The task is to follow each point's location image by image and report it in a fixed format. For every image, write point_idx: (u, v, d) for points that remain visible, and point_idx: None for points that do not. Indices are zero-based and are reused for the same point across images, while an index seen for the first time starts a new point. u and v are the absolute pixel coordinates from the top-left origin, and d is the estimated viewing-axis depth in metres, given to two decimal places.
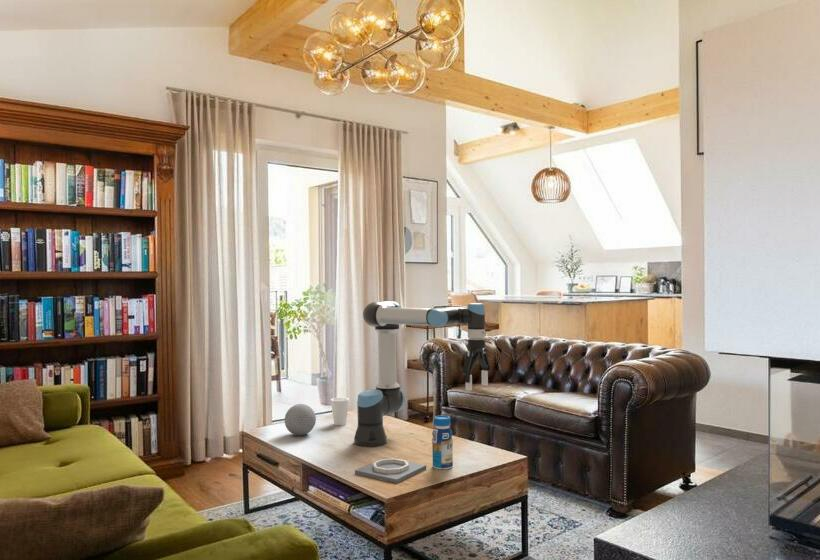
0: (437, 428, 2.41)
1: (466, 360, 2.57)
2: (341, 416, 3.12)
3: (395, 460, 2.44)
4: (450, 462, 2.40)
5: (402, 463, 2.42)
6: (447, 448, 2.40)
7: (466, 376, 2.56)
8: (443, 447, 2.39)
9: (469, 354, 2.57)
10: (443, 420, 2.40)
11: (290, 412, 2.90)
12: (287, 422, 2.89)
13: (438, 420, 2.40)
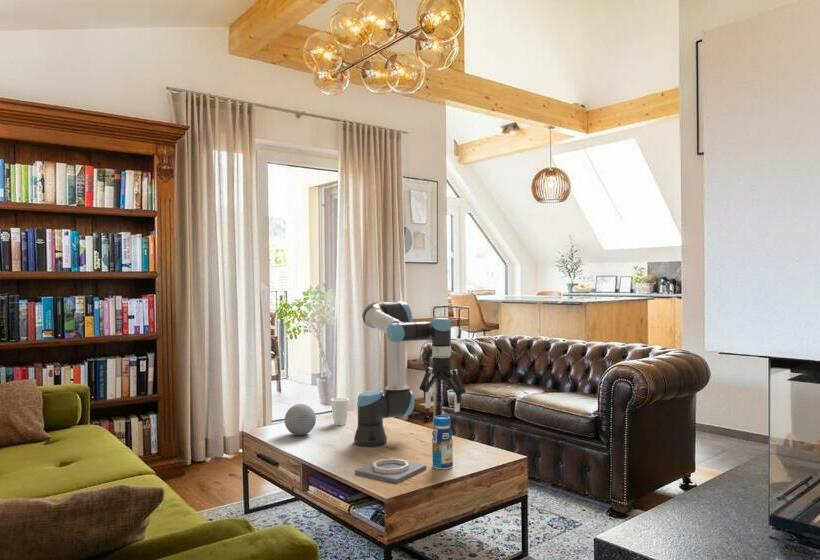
0: (437, 428, 2.41)
1: None
2: (341, 416, 3.12)
3: (395, 460, 2.44)
4: (450, 462, 2.40)
5: (402, 463, 2.42)
6: (447, 448, 2.40)
7: None
8: (443, 447, 2.39)
9: None
10: (443, 420, 2.40)
11: (290, 412, 2.90)
12: (287, 422, 2.89)
13: (438, 420, 2.40)
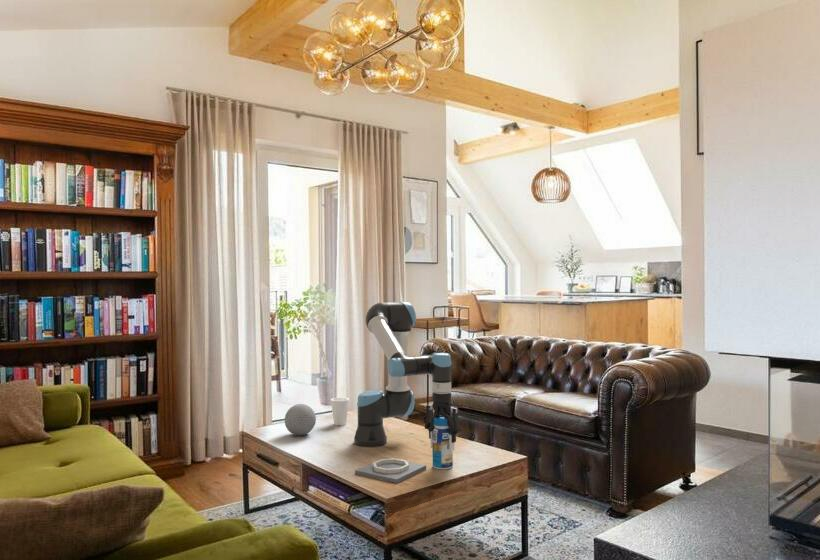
0: (437, 428, 2.41)
1: None
2: (341, 416, 3.12)
3: (395, 460, 2.44)
4: (450, 462, 2.40)
5: (402, 463, 2.42)
6: (447, 448, 2.40)
7: None
8: (443, 447, 2.39)
9: None
10: (443, 420, 2.40)
11: (290, 412, 2.90)
12: (287, 422, 2.89)
13: (438, 420, 2.40)
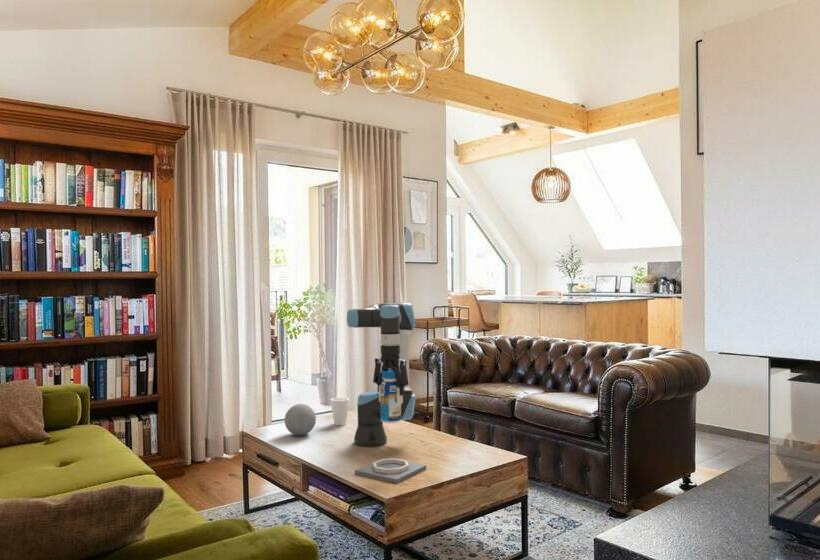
0: (385, 381, 2.35)
1: None
2: (341, 416, 3.12)
3: (395, 460, 2.44)
4: (398, 415, 2.35)
5: (402, 463, 2.42)
6: (395, 401, 2.34)
7: None
8: (390, 400, 2.34)
9: None
10: (391, 372, 2.34)
11: (290, 412, 2.90)
12: (287, 422, 2.89)
13: (386, 373, 2.35)
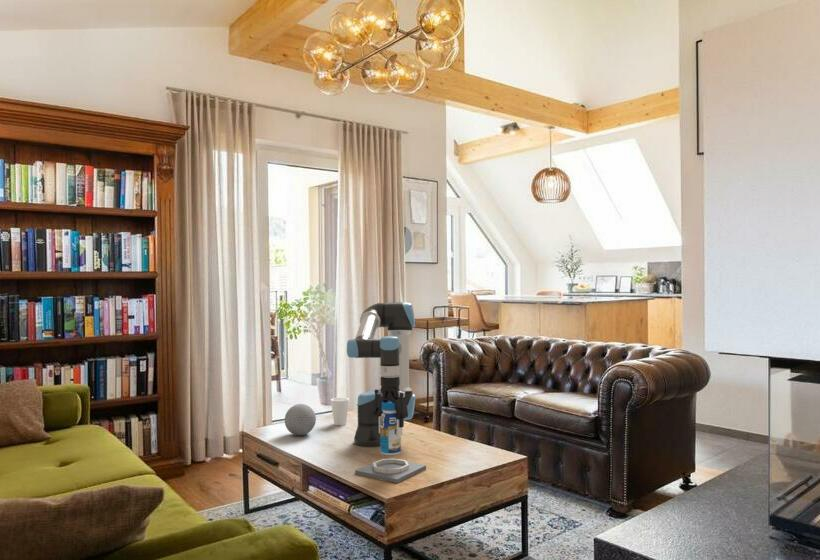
0: (384, 413, 2.35)
1: None
2: (341, 416, 3.12)
3: (395, 460, 2.44)
4: (398, 447, 2.35)
5: (402, 463, 2.42)
6: (394, 433, 2.34)
7: None
8: (390, 432, 2.34)
9: None
10: (390, 404, 2.34)
11: (290, 412, 2.90)
12: (287, 422, 2.89)
13: (385, 404, 2.35)
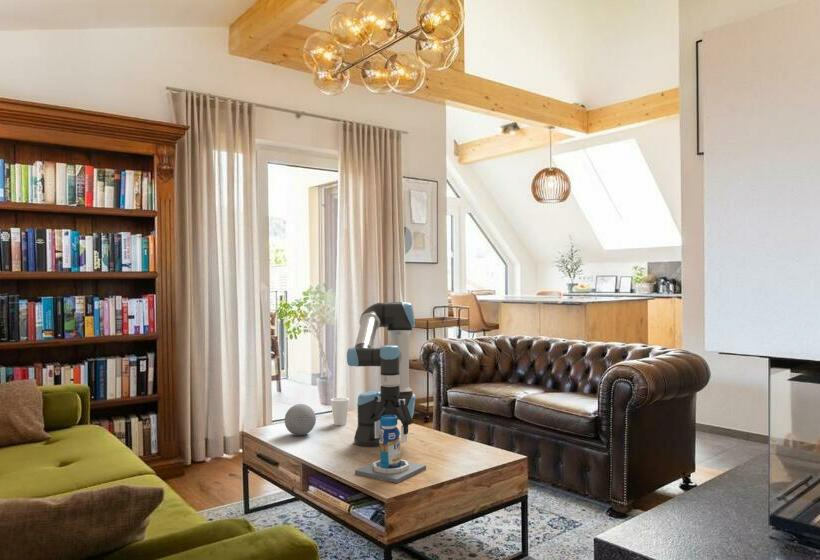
0: (383, 429, 2.35)
1: None
2: (341, 416, 3.12)
3: None
4: (398, 462, 2.35)
5: (402, 463, 2.42)
6: (394, 448, 2.34)
7: None
8: (390, 447, 2.34)
9: None
10: (389, 420, 2.34)
11: (290, 412, 2.90)
12: (287, 422, 2.89)
13: (384, 420, 2.34)
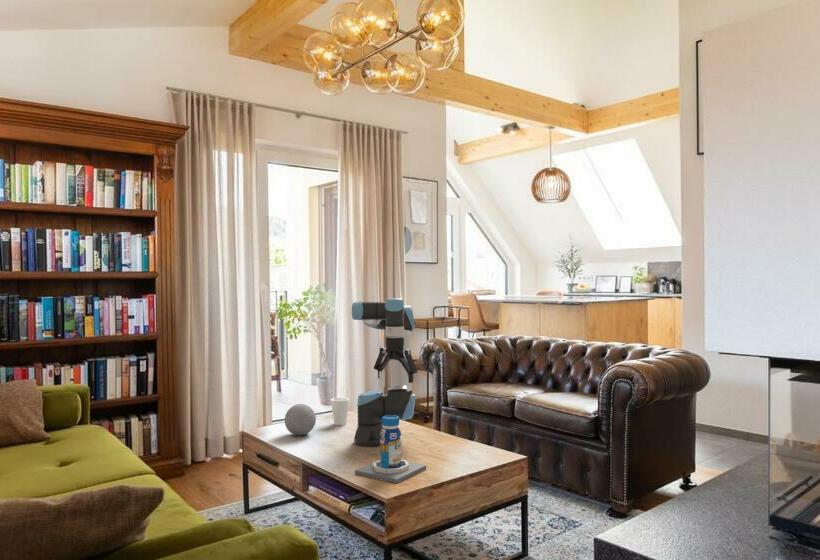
0: (385, 428, 2.36)
1: None
2: (341, 416, 3.12)
3: None
4: (398, 463, 2.35)
5: (402, 463, 2.42)
6: (395, 448, 2.34)
7: None
8: (390, 447, 2.34)
9: None
10: (391, 420, 2.34)
11: (290, 412, 2.90)
12: (287, 422, 2.89)
13: (386, 420, 2.35)
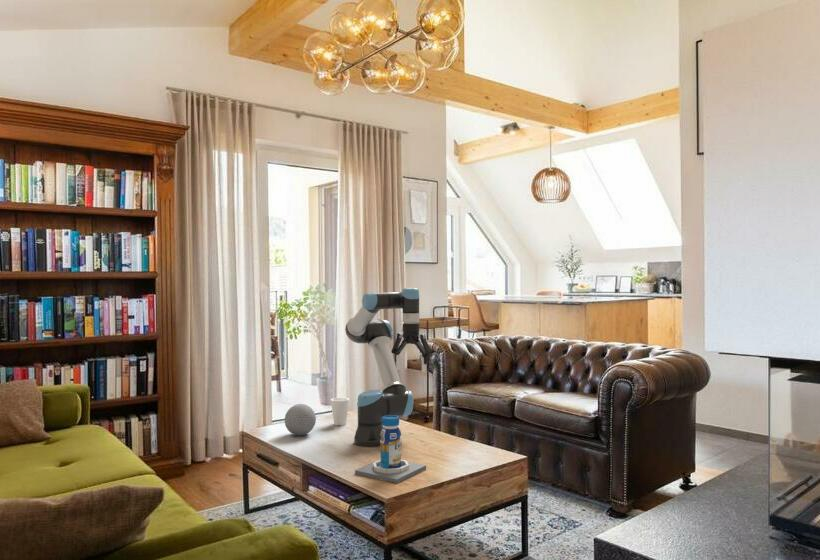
0: (385, 428, 2.36)
1: None
2: (341, 416, 3.12)
3: None
4: (398, 463, 2.35)
5: (402, 463, 2.42)
6: (395, 448, 2.34)
7: None
8: (390, 447, 2.34)
9: None
10: (391, 420, 2.35)
11: (290, 412, 2.90)
12: (287, 422, 2.89)
13: (386, 420, 2.35)
